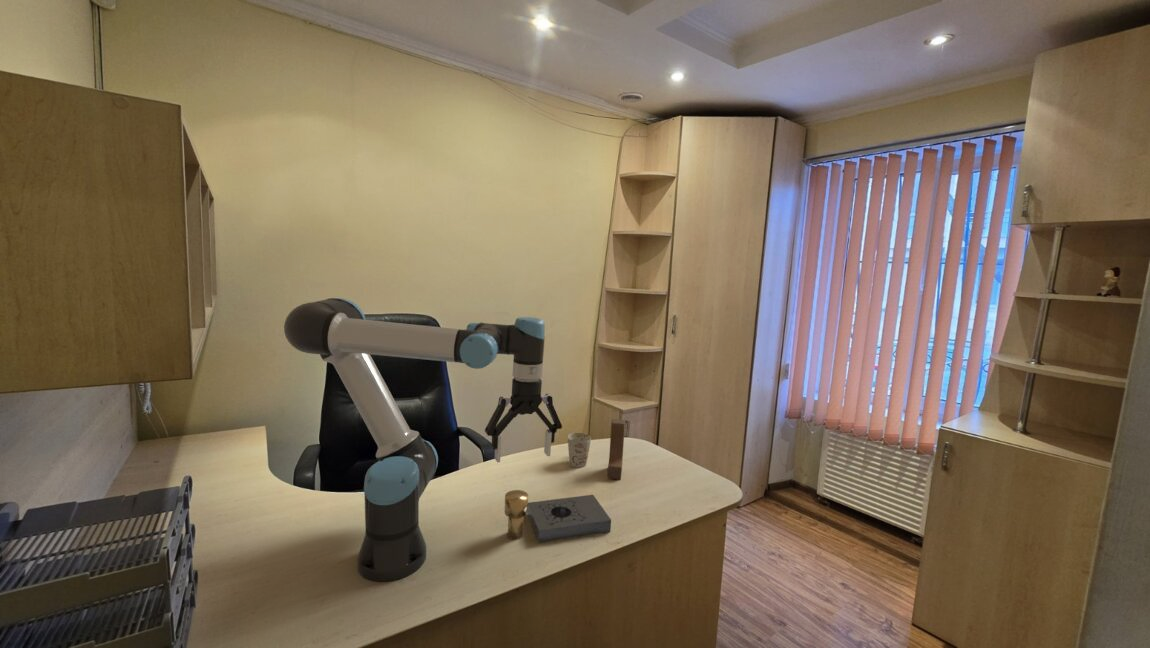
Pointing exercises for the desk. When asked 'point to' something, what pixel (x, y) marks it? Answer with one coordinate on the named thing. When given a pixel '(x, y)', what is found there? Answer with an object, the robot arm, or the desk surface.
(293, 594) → the desk surface
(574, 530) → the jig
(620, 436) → the wooden block
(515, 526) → the knob
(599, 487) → the desk surface
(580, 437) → the mug
